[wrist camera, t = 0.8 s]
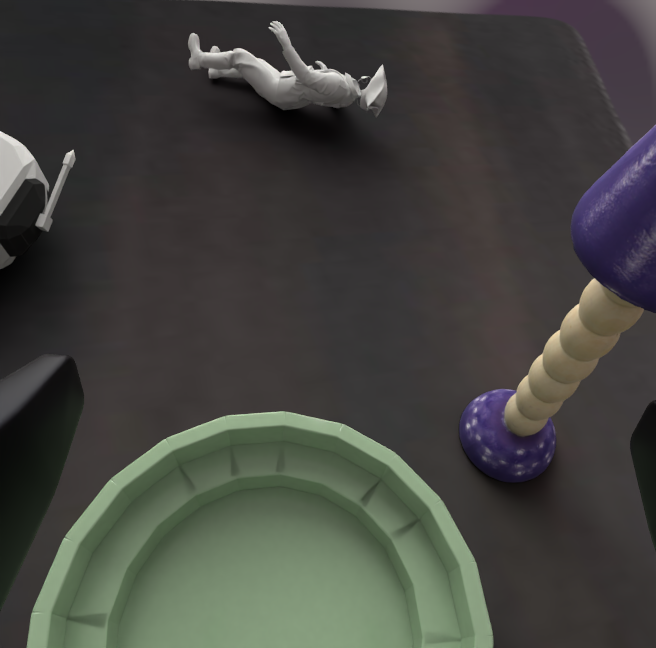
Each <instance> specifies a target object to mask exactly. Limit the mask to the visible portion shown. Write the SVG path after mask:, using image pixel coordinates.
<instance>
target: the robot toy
mask: <svg viewBox="0 0 656 648" xmlns="http://www.w3.org/2000/svg"><path fill="white" fill-rule="evenodd" d="M74 161H75V155H74V150H72V151H71V152H69V153H67V154H66V156H65V159H64V161H63V164H64V165H63V167H62V170H61V172H60V175H59V177H58V180H57V182H56V185H55V187H54V190H53V192H52V195H51V196H50V194H49V192H48V190H49V184H48V182H47V180H46V179H45V177H44V175H43V173H42V171H41V169H40V168H39V166H38V164H37V162H36V160H35V158H34V157H33V156H32V155H31V153H30V152H29V151H28V150H27V148H26V147H25V146H24V145H23V144H21V143H20V142H19V141H17V140H15V139H14V138H12V137H10V136H8V135H6V134H4V133H2V132H1V131H0V269H2V268H4V267H6V266H8V265H10V264H11V263H12V262H13V260H14V259H15V257H16V256H21V255H22V254H24V253H25V252H26V251H27V250H28V249H29V247H30V246H31V245H32V244H33V243H34V242H35V241H36V240H37V238H38V237H39V235H40V234H41V232H42V230H43V231H47V232H48V231H49V229H50V226H51V224H52V221H53V220H52V219H51V218H50V217H51V215H52V212H53V210H54V207H55V205H56V202H57V200H58V197H59V195H60V192H61V190H62V187H63V185H64V182H65V180H66V177H67V175H68V172H69V170H70V168H72V166H73V164H74Z"/></svg>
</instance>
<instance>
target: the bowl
mask: <svg viewBox="0 0 656 648" xmlns="http://www.w3.org/2000/svg"><path fill="white" fill-rule="evenodd" d="M492 636H493V632H492V628H491V623H490V619H489V615H488V611H487V607H486V602H485V598H484V594H483V590H482V585H481V581H480V577H479V573H478V568H477V564H476V562H475V559H474V557H473V555H472V554H471V552H470V550H469V548H468V546H467V545H466V543H465V541H464V539H463V537H462V535H461V534H460V532H459V530H458V528H457V526H456V524H455V523H454V521H453V519H452V517H451V515H450V514H449V512H448V510H447V508H446V506H445V504H444V503H443V501H442V500H441V499H440V497H439V496H438V495H437V494H436V493H435V492H434V491H433V490H432V489H431V488H430V487H429V486H428V485H427V484H426V483H425V482H424V481H423V480H422V479H421V478H420V477H419V476H418V475H417V474H416V473H415V472H414V471H413V470H412V469H411V468H410V467H409V466H408V465H407V464H406V463H405V462H404V461H403V460H402V459H401V458H400V457H399V456H398V455H397V454H396V453H395V452H393V451H391V450H389V449H388V448H386V447H384V446H382V445H380V444H379V443H377V442H375V441H373V440H371V439H370V438H368V437H366V436H364V435H362V434H361V433H359V432H357V431H355V430H353V429H352V428H350V427H348V426H346V425H344V424H343V425H342V424H340V423H336V422H331V421H327V420H322V419H317V418H313V417H308V416H304V415H299V414H294V413H290V412H284V411H282V412H269V413H256V414H243V415H230V416H225V417H221V418H218V419H216V420H213V421H210V422H208V423H205V424H202V425H200V426H197V427H194V428H192V429H189V430H186V431H184V432H181V433H178V434H176V435H173V436H171V437H168V438H166V439H164V440H163V441H161V442H160V443H159V444H157V445H156V446H155V447H153V448H152V449H150V450H149V451H148V452H146V453H145V454H144V455H142V456H141V457H140V458H138V459H137V460H136V461H134V462H133V463H131V464H130V465H129V466H127V467H126V468H125V469H123V470H122V471H121V472H119V473H118V474H117V475H115V476H114V477H112V479H111V480H109V481H108V483H107V484H106V485H105V486H104V488H103V489H102V490H101V491H100V493H99V494H98V495H97V497H96V498H95V499H94V500H93V502H92V503H91V504H90V505H89V507H88V508H87V509H86V510H85V512H84V513H83V514H82V515H81V517H80V518H79V519H78V520H77V522H76V523H75V524H74V525H73V527H72V528H71V529H70V531H69V532H68V533H67V534H66V536H65V538H64V539H63V541H62V543H61V546H60V548H59V550H58V553H57V555H56V557H55V560H54V562H53V564H52V566H51V569H50V571H49V573H48V576H47V578H46V580H45V583H44V585H43V587H42V590H41V592H40V594H39V597H38V599H37V601H36V603H35V606H34V608H33V613H32V614H31V620H30V627H29V635H28V642H27V648H493V637H492Z"/></svg>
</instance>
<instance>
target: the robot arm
mask: <svg viewBox="0 0 656 648" xmlns="http://www.w3.org/2000/svg"><path fill="white" fill-rule="evenodd" d="M83 405H84V393H83V389H82V385H81V382H80V378H79V374H78V370H77V367H76V363H75V361H74V359H73V358H72V357H70V356H67V355H55V354H45V355H42V356H40V357H38V358H37V359H35V360H33V361H32V362H30V363H28V364H27V365H25V366H23V367H22V368H20V369H18V370H17V371H15V372H13V373H12V374H10V375H8V376H7V377H5V378H3V379H2V380H0V611H1V609H2V607H3V604H4V602H5V600H6V598H7V596H8V594H9V591H10V589H11V587H12V585H13V583H14V581H15V579H16V576H17V574H18V572H19V570H20V568H21V566H22V563H23V561H24V559H25V557H26V555H27V553H28V551H29V548H30V546H31V544H32V542H33V540H34V538H35V535H36V533H37V531H38V529H39V527H40V525H41V522H42V520H43V518H44V516H45V514H46V512H47V510H48V507H49V505H50V503H51V500H52V498H53V496H54V493H55V490H56V488H57V485H58V482H59V479H60V476H61V473H62V470H63V467H64V464H65V461H66V458H67V455H68V452H69V449H70V446H71V443H72V440H73V437H74V434H75V431H76V428H77V425H78V422H79V419H80V416H81V413H82V410H83ZM630 450H631V455H632V459H633V463H634V468H635V472H636V476H637V480H638V485H639V489H640V493H641V497H642V502H643V506H644V510H645V515H646V519H647V523H648V527H649V531H650V534H651V538H652V542H653V545H654V548H655V551H656V400H655V401H652V402H651V403H650V404H649V405H648V406H647V408H646V410H645V412H644V414H643V415H642V417H641V419H640V421H639V423H638V425H637V427H636V428H635V430H634V432H633V434H632V437H631V441H630Z"/></svg>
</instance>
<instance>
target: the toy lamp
mask: <svg viewBox="0 0 656 648" xmlns="http://www.w3.org/2000/svg"><path fill="white" fill-rule="evenodd" d="M571 239H572V241H573V245H574V250H575V252H576V254H577V256H578V258H579V259H580V261H581V262H582V264H583V265H584V266H585V267H586V269H587V270H588V272H589V273H590V274H591V275H592V276H593V277H594V279H593V280H592V281H591V282H590V283H589V284H588V286H587V287H586V288H585V290H584V291H583V293H582V296H581V299H580V303H579V304H578V305H576V306H575V307H574V308H573V309H572V310H571V311H570V312H569V313H568V314H567V316H566V317H565V319H564V320H563V322H562V325H561V329H560V330H559V331H558V332H556V333H555V334H554V335H553V336H552V337H551V338H550V339H549V340H548V342H547V344H546V345H545V348H544V351H543V354H541V355H540V356H539V357H538V358H537V359H536V360H535V361H534V362H533V364H532V366H531V368H530V371H529V375H527V376H526V377H525V378H524V379H523V380H522V381H521V383H520V384H519V386H518V389H517V391H514V390H506V389H498V390H493V391H489V392H486V393H484V394H482V395H480V396H478V397H477V398H475V399H474V400H472V401H471V402H470V403H469V404H468V406H467V407H466V408H465V410H464V411H463V413H462V415H461V419H460V424H459V434H460V439H461V442H462V445H463V449H464V451H465V452H466V454H467V455H468V457H469V459H470V460H471V461H472V462H473V463H474V465H475V466H476V467H478V468H479V469H480V470H481V471H482V472H484V473H485V474H487V475H488V476H490V477H492V478H495V479H497V480H499V481H504V482H514V483H516V482H524V481H527V480H530V479H533V478H535V477H537V476H538V475H540V474H541V473H542V472H544V471H545V469H546V468H547V467H548V465H549V464H550V462H551V460H552V458H553V455H554V452H555V448H556V433H555V428H554V425H553V422H552V420H551V418H550V417H551V416H552V415H554V414H555V413H556V412H557V411H558V410H559V409H560V407H561V405H562V403H563V401H564V400H565V399H567V398H569V397H570V396H571V395H572V394H573V393H574V392H575V391H576V389H577V387H578V386H579V383H580V381H581V380H583V379H584V378H586V377H587V376H588V375H589V374H590V373H591V372H592V371H593V370H594V368H595V367H596V365H597V363H598V360H599V358H600V357H602V356H603V355H605V354H607V353H608V352H609V351H610V350H611V349H612V348H613V347H614V345H615V344H616V342H617V341H618V339H619V336H620V333H621V332H623V331H625V330H627V329H629V328H630V327H631V326H632V325H634V324H635V323H636V321H637V320H638V319H639V318H640V316H641V315H642V313H643V311H644V309H645V310H647V311H651V312H653V313H656V125H655V126H654V127H653V128H652V129H651V130H650V131H649V132H648V133H647V134H646V135H644V136H643V137H642V138H641V139H640V140H639V141H638V142H637V143H636V144H635V145H634V146H633V147H631V148H630V149H629V150H628V151H627V152H626V153H625V154H624V155H623V156H622V157H621V158H620V159H619V160H618V161H617V162H616V163H615V164H614V165H613V166H612V167H611V168H610V169H609V170H608V171H607V172H606V173H605V174H604V175H602V176H601V177H600V178H599V179H598V180H597V181H596V182H595V183H594V184H593V185H592V187H591V188H590V189H589V190H588V191H587V192H586V193H585V194H584V195H583V197H582V198H581V200H580V201H579V203H578V204H577V206H576V208H575V210H574V213H573V215H572V221H571Z"/></svg>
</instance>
